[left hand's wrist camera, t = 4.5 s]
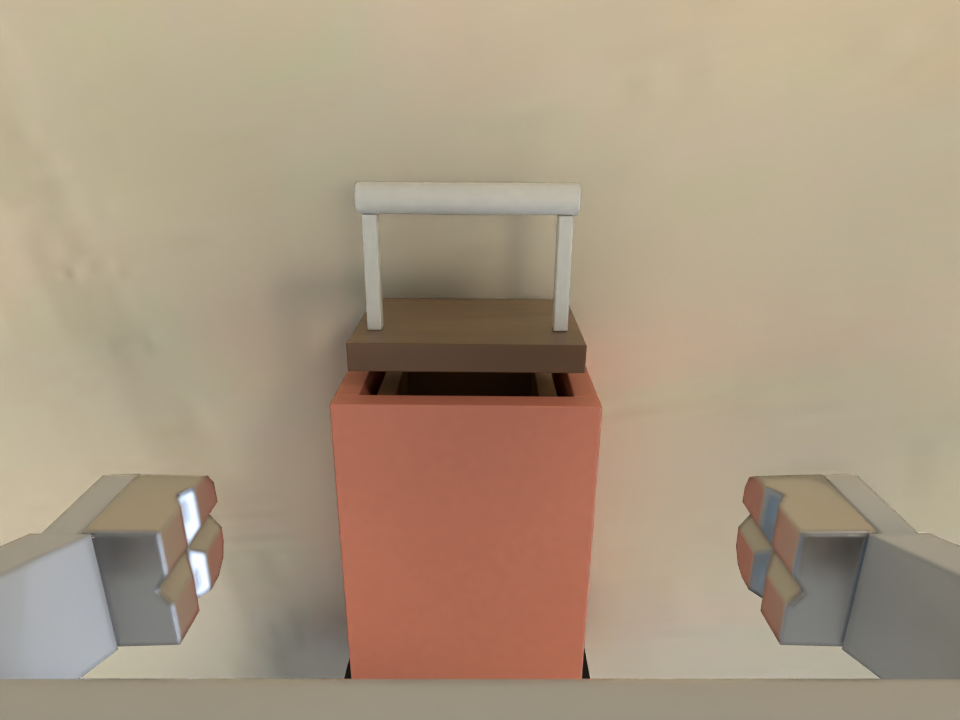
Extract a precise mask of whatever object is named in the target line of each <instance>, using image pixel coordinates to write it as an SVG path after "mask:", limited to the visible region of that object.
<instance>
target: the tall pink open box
mask: <svg viewBox="0 0 960 720" xmlns="http://www.w3.org/2000/svg"><path fill="white" fill-rule="evenodd" d="M385 374H386V371H348V372H347V374H346V376H345V377H344V379H343V381H342V383H341V385H340V387H339V389H338V390H337V392H336V394H335V396H334V398H333V400H332V401H331V403H330V416H331V428H332V441H333V454H334V466H335V479H336V491H337V504H338V517H339V529H340V542H341V555H342V567H343V580H344V592H345V605H346V618H347V630H348V643H349V655H350V668H351V679H582V669H583V655H584V642H585V629H586V616H587V602H588V589H589V576H590V562H591V549H592V536H593V522H594V509H595V496H596V482H597V469H598V456H599V442H600V429H601V416H602V406H601V403H600V401H599V398H598V396H597V394H596V391H595V389H594V386H593V384H592V381H591V379H590V376H589V374H588V371H587V369H586V366H585V373H552V377H553V381H554V385H555V389H556V393H557V397H532V396H413V395H377V394H378V392H379V389H380V387H381V384H382V382H383V379H384V376H385Z"/></svg>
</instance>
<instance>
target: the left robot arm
mask: <svg viewBox="0 0 960 720" xmlns="http://www.w3.org/2000/svg"><path fill="white" fill-rule="evenodd" d="M216 503H217V497H216V492H215V486H214V482H213V481H212V480H211V479H210V478H209V477H208V476H199V475H147V474H144V475H141V474H112V475H104V476H102V477H101V478H100V479H99V480H98V481H97V482H96V483H94V484H93V485H92V486H91V487H90V488H89V489H88V490H87V491H86V492H85V493H84V494H83V495H82V496H81V497H80V498H79V499H78V500H76V501H75V502H74V503H73V504H72V505H71V506H70V507H69V508H68V509H67V510H66V511H65V512H64V513H63V514H62V515H61V516H59V517H58V518H57V519H56V520H55V521H54V522H53V523H52V524H51V525H50V526H49V527H48V528H47V529H46V530H45V531H44V532H43V533H41V534H28V535H26V536H24V537H21V538H19V539H17V540H14V541H12V542H9V543H7V544H5V545H2V546H0V720H960V546H958V545H955V544H953V543H951V542H948V541H946V540H943V539H941V538H939V537H936V536H934V535H932V534H919V533H917V532H916V531H915V530H914V529H913V528H912V527H911V526H910V525H909V524H908V523H907V522H906V521H905V520H904V519H903V518H902V517H901V516H900V515H898V514H897V513H896V512H895V511H894V510H893V509H892V508H891V507H890V506H889V505H888V504H887V503H886V502H885V501H884V500H883V499H882V498H881V497H879V496H878V495H877V494H876V493H875V492H874V491H873V490H872V489H871V488H870V487H869V486H868V485H867V484H866V483H865V482H864V481H863V480H862V479H860V478H859V477H858V476H855V475H852V474H828V475H782V476H754V477H749V479H748V482H747V484H746V486H745V490H744V496H743V503H744V505H745V506H746V508H747V509H748V511H749V512H750V515H749V516H748V518H747V519H746V520H745V521H744V522H743V523H742V524H741V525H740V526H739V527H738V535H737V544H736V549H737V559H738V566H739V569H740V572H741V575H742V578H743V580H744V582H745V584H746V586H747V587H748V589H749V590H750V591H752V592H754V593H755V594H757V595H758V596H760V597H761V598H763V600H762V605H761V612H762V614H763V616H764V617H765V619H766V621H767V623H768V624H769V626H770V628H771V630H772V631H773V633H774V635H775V637H776V638H777V640H778V642H779V644H780V645H810V646H843V647H842V649H843V650H844V651H845V652H846V653H848V654H849V655H850V656H852V657H853V658H854V659H856V660H857V661H858V662H860V663H861V664H862V665H863V666H865V667H866V668H867V669H869V670H870V671H871V672H873V673H874V674H875V675H877V676H878V677H879V678H881V679H80V678H81V677H82V676H84V675H85V674H86V673H88V672H89V671H90V670H91V669H93V668H94V667H95V666H97V665H98V664H99V663H101V662H102V661H103V660H105V659H106V658H107V657H109V656H110V655H111V654H113V653H114V652H115V651H116V650H118V647H117V646H149V645H180V644H181V642H182V640H183V638H184V637H185V635H186V633H187V631H188V630H189V628H190V626H191V624H192V623H193V621H194V619H195V617H196V616H197V614H198V612H199V605H198V600H197V598H199V597H200V596H202V595H203V594H205V593H206V592H208V591H210V590H211V589H212V587H213V585H214V584H215V582H216V580H217V578H218V576H219V572H220V568H221V564H222V560H223V534H222V527H221V526H220V525H219V524H218V523H217V522H216V521H215V520H214V519H213V518H212V516H211V515H210V512H211V511H212V509H213V508H214V506H215V505H216Z"/></svg>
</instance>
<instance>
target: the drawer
mask: <svg viewBox="0 0 960 720" xmlns="http://www.w3.org/2000/svg"><path fill="white" fill-rule="evenodd" d="M580 203H581V189H580V184H579V183H503V182H356V183H355V186H354V206H355V210H356V212H357V213H358V214H362V215H361V220H362V238H363V256H364V274H365V292H366V310H367V311H366V312H365V314H364V316H363V317H362V319H361V321H360V322H359V324H358V325H357V327H356V329H355V330H354V332H353V334H352V335H351V337H350V338H349V340H348V342H347V343H346V348H347V363H348V371H386V374H385V376H384V379H383V382H382V384H381V387H380V389H379V392H378V394H377V395H413V396H532V397H557V393H556V389H555V385H554V381H553V377H552V373H585V364H586V349H587V346H586V343H585V341H584V339H583V336H582V334H581V332H580V329H579V327H578V325H577V323H576V320H575V318H574V316H573V313H572V311H571V309H570V306H569V294H570V275H571V256H572V237H573V219H574V217H573V216H572V215H578V213H579V210H580ZM378 214H463V215H557V231H556V253H555V276H554V298H553V300H502V299H382V283H381V261H380V240H379V218H378Z"/></svg>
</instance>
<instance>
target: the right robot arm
mask: <svg viewBox="0 0 960 720" xmlns="http://www.w3.org/2000/svg"><path fill="white" fill-rule="evenodd" d="M344 679H351V668H350V658H349V662H348V666H347V670H346V674H345V678H344ZM582 679H590V676H589V671H588V665H587V660H586V654H585V649H584V655H583V669H582Z"/></svg>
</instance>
